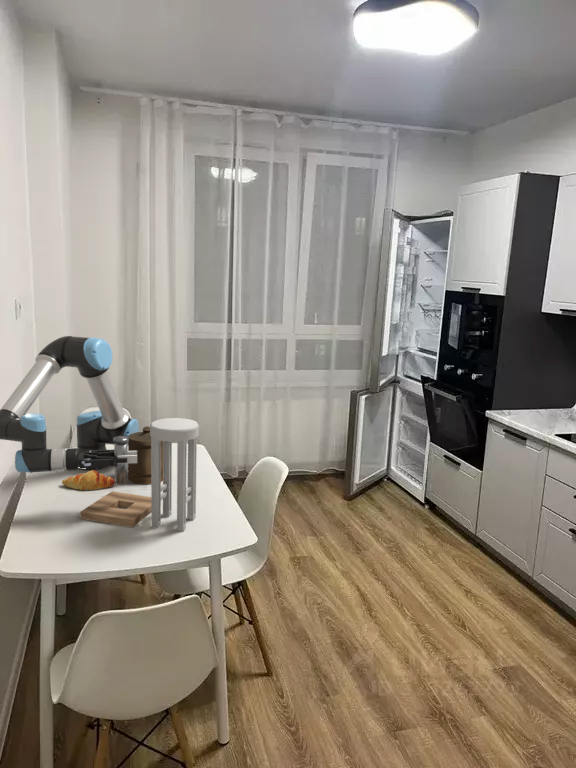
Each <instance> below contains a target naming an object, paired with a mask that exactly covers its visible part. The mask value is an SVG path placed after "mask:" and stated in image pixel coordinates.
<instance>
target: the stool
mask: <svg viewBox="0 0 576 768" xmlns="http://www.w3.org/2000/svg"><path fill="white" fill-rule="evenodd" d="M149 427H150V435H151V484H150V485H151V488H150V489H151V494H150V497H151V513H150V514H151V516H150V518H151V528H155V529H157V528H158V529H159V527H160V526H162V525H161V524H162V523H161V520H162V519H161V518H162V517H167V518H169V516H170V515H172V507H173V506H172V503H173V502H172V494H173V493H172V490H173V489H172V487H173V486H172V481H173V478H172V477H173V476H172V475H173V473H172V471H173V468H172V467H173V465H172V464H173V461H172V460H173V455H172V453H173V451H172V450H173V442H177V443H176V444H177V447H176V448H177V449H176V450H177V451H176V452H177V454H176V455H177V456H176V460H177V461H176V462H177V463H176V465H177V466H176V468H177V469H176V472H177V474H176V475H177V476H176V477H177V478H176V531H177V532H178V531H179V532H184V531H185V530H186V529H187V519H190V521H194V520H195V519H196V516H197V515H196V513H197V510H196V509H197V458H198V457H197V455H198V454H197V449H198V448H197V443H198V441H197V440H198V437H199V436H200V425H199V424H198V422H197V421H196V420H193V419H189V418H182V417H181V418H180V417H172V418H170V417H169V418H168V417H167V418H161V419H157V420H154V421H153V422H151V423H150V424H149ZM161 441H163V480H162V481H161ZM161 482H162V483H161ZM161 484H162V485H161ZM161 506H162V507H161ZM161 508H162V511H161ZM161 515H162V516H161ZM170 517H171V516H170Z"/></svg>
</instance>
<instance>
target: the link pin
mask: <svg viewBox="0 0 576 768" xmlns="http://www.w3.org/2000/svg"><path fill="white" fill-rule="evenodd" d="M113 442H114V445H113V446H114V457H117V458H118V456H124V455H128V442H129V437H127V436H117V437H114V438H113ZM114 479H115V483H116V484H115V485H124V484H127V483H129V480H128V464H118V463H117V467H115V466H114Z"/></svg>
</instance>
